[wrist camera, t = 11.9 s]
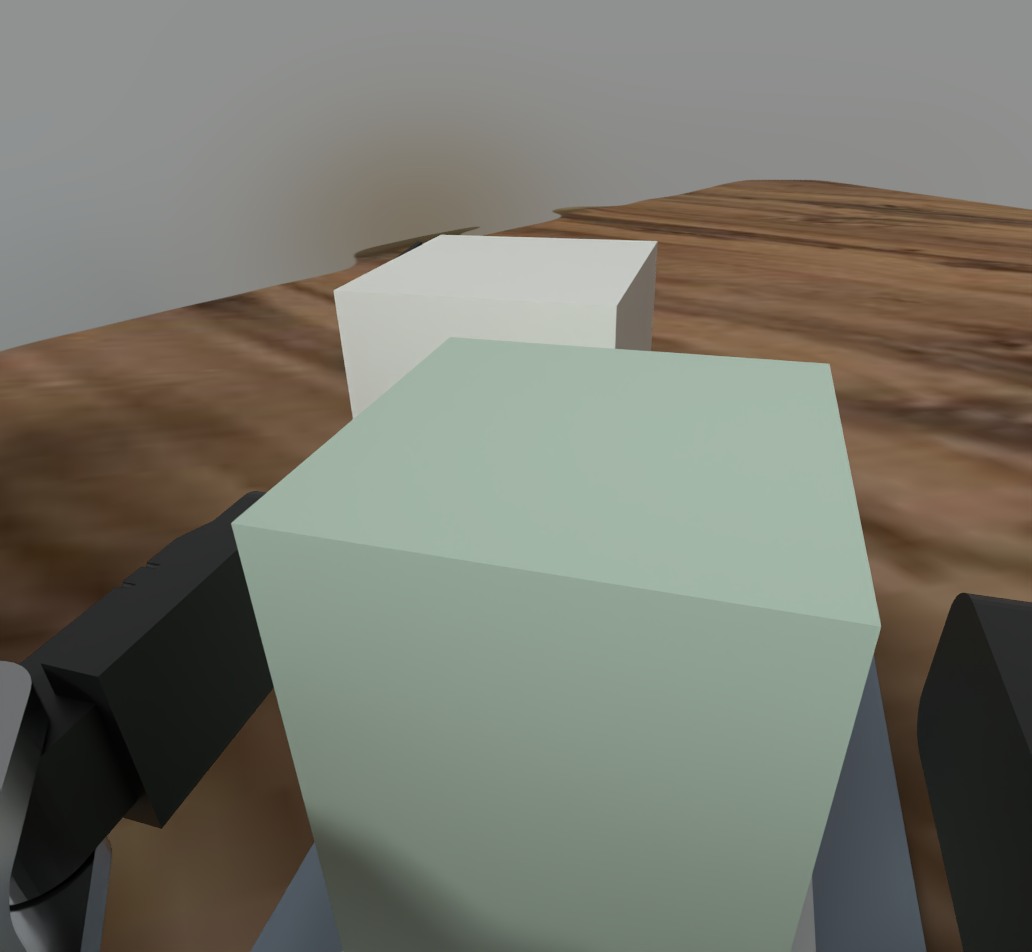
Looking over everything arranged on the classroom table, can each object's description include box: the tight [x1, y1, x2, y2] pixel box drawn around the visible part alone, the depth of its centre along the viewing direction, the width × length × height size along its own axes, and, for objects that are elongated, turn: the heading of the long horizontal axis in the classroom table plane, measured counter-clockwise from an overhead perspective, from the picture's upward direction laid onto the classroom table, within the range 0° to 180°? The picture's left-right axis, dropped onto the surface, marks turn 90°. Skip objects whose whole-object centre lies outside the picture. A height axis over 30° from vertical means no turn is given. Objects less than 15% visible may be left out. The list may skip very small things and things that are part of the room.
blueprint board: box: [250, 654, 927, 952], centre depth 14 cm, size 12×17×2 cm
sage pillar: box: [231, 337, 881, 952], centre depth 10 cm, size 5×5×11 cm
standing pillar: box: [334, 235, 658, 419], centre depth 17 cm, size 5×5×11 cm
